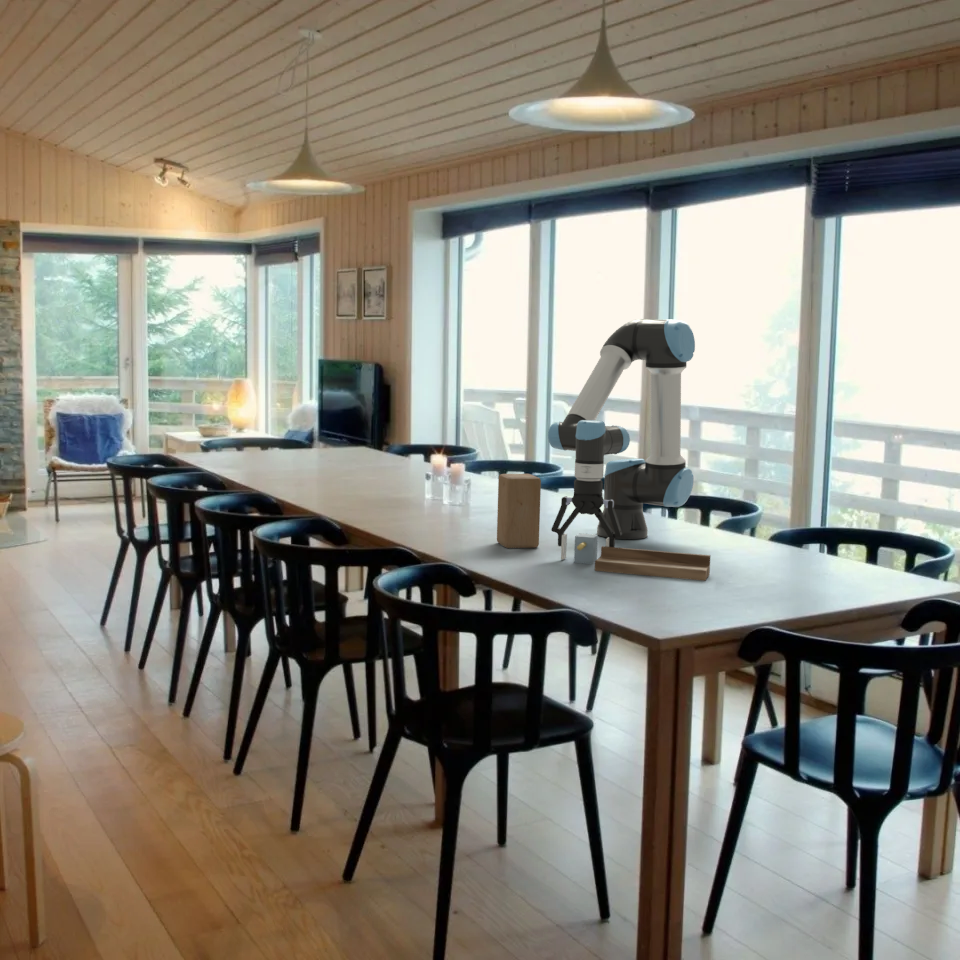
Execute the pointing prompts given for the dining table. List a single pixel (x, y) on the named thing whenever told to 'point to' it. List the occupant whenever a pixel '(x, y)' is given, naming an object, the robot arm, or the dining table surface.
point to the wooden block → (518, 510)
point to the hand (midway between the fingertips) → (585, 560)
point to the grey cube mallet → (585, 548)
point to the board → (654, 563)
